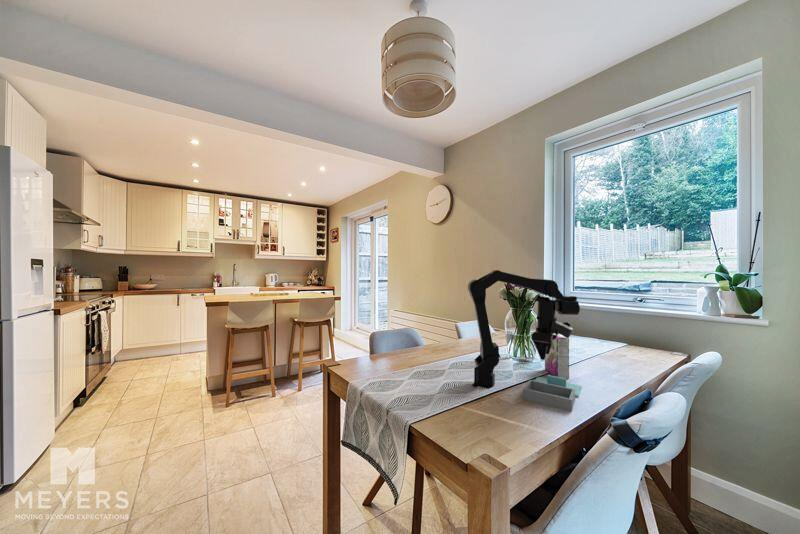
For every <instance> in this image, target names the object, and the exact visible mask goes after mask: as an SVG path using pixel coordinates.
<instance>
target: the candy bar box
mask: <svg viewBox="0 0 800 534" xmlns="http://www.w3.org/2000/svg"><path fill="white" fill-rule="evenodd" d="M554 335H556V333H554ZM544 369H545V370H546V371H547V372H548V373H550V374H551V376H556V377H561V378H566V380H567V379H570V337H569V338H566V337H564V336H563V335H561V334H558V336H557V337H556V338H555V339H553V341H552V345H551V348H550V352H549V354H546V356H545V360H544Z"/></svg>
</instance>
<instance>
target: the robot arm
mask: <svg viewBox="0 0 800 534" xmlns="http://www.w3.org/2000/svg"><path fill="white" fill-rule="evenodd" d="M498 282H501V283H505V284H506V283H507V284H509V285H514V286H518V287H522V288H526V289H529V290H531V291H533V292H535V293H538V294H535V296H534V297H532V298H531V301H532V302H537V316H535V317H536V318H535V319H536V320H537V322H536V323H537V326H536V327H535V331H534V332H533V333H531V334H530V335H531V336H530V337H531V342H533V344H534V346H535V349H536V351H537V353H538V355H539V358H540V360H541V361H545V356H546V354H549V352H550V348H551V345H552V341H553V339H555V338H556V337H557V336H558V334H561V335H563V336H564V337H566V338H569V339H570V337H571V335H572V332H573V330H574V328H573V326H571V322H569V321H564V322H563V323H562V322H560V321H558V320H557V319H558V318H557V317H556V312H557V313H558V315H560V316H561V315H564V316H565V315H566V316H577V315H579V313H580V310H581V309H580V308H581V307H580V304H579V301H578V300H577V299H578V297H577V296H576V295H575V296H574V295H569V296H567V295H566V296H564V295H563V294H562V291H560V289H559V286H558V284H557V282H556V281H555V280H553V279H543V278H530V277H526V276H521V275H516V274H513V273H509V272H504V271H501V270H499V269H497V270H496V269H493V270H491V271H490V272H489V273H487V274H485V275H483V276H481V277H480V278H478V279H471V280H470V281H469V282H468V283H467V290H468V293H469V296H470V297H471V300H472V302H473V304H474V305H473V306H474V310H475V316H476V322H477V326H478V332H479V338H480V344H479V345H480V346H479V355H478V356H477V357H475V359H474V360H473V361H474V363H475V367H474V370H473V372H474V373H473V375H474V376H473V377H474V379H473V383H472V384H471V386H473V387H476V388H477V387H480V388H485V389H487V390H488V389H491V388H493V387H494V386H495V384H496V383H495V382H496V374H495V373H494V370H495V367H497V366H498V365H499V363H500V359H501V358H502V357H501V355H500V350H499V346H498V344H497V343H496V342H494V341H493V339H492V334H491V328H490V325H489V323H490V322H489V317H488V313H487V307H486V297H487V293H486V292H487V289H489V288H490V287H491V286H493V285H494V284H496V283H498ZM541 295H543V296H541ZM554 333H556V335H554Z"/></svg>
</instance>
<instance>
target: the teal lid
mask: <svg viewBox="0 0 800 534" xmlns="http://www.w3.org/2000/svg"><path fill="white" fill-rule="evenodd" d="M534 381H539V382H543V383H548V384H553V385H558V386H562V387H567V388H572V389H575V398H579V397H580V394H581V391H582V385H580V384H579V385H578V384H575V383H570V382H567V379H566V378H561V377H556V376H554V375H552V374H551V375H550V374H547V377H541V376H537V377H536V378H535V380H534Z"/></svg>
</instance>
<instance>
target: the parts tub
mask: <svg viewBox="0 0 800 534" xmlns="http://www.w3.org/2000/svg"><path fill="white" fill-rule="evenodd" d="M556 394H559V395H563V396H565V397H561V396H556ZM522 400H524V401H529V402H532V403H536V404H540V405H544V406H547V407H552V408H556V409H561V410H564V411H568V412H573V409H574V405H575V403H576V397H575V389H572V388H567V387H562V386H558V385H553V384H548V383H543V382H539V381H535V380H534V379H529V380H528V381H527V383H526V384H525V385H524V387H523V388H522Z"/></svg>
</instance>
